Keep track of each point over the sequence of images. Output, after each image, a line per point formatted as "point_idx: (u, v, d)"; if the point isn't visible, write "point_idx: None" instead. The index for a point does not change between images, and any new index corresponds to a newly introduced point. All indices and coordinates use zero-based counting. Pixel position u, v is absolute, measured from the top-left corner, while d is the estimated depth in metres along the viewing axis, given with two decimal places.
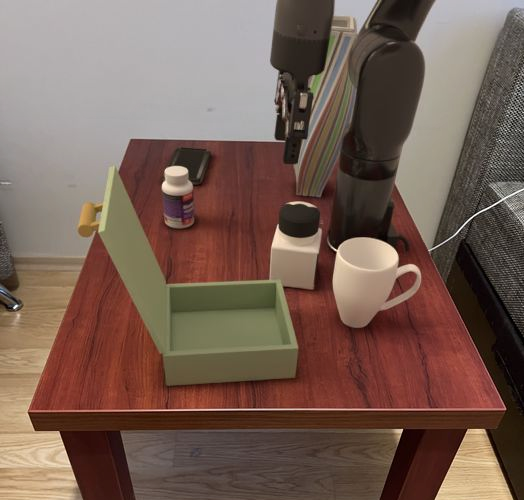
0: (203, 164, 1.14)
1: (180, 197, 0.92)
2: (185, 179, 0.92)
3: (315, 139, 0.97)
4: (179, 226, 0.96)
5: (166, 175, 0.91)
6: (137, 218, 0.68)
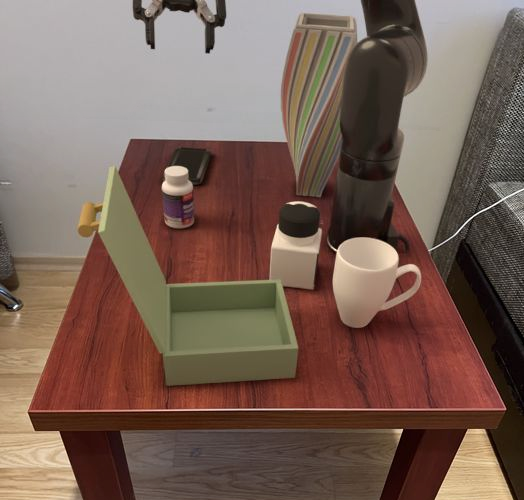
0: (203, 164, 1.14)
1: (180, 197, 0.92)
2: (185, 179, 0.92)
3: (315, 139, 0.97)
4: (179, 226, 0.96)
5: (166, 175, 0.91)
6: (137, 218, 0.68)
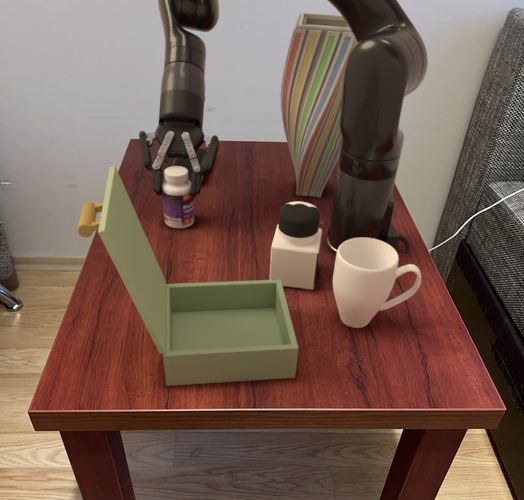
0: None
1: (180, 197, 0.92)
2: (185, 179, 0.92)
3: (315, 139, 0.97)
4: (179, 226, 0.96)
5: (166, 175, 0.91)
6: (137, 218, 0.68)
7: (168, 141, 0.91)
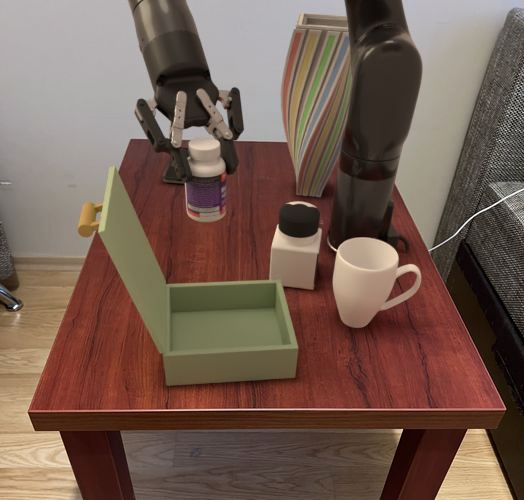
0: None
1: (218, 177, 0.69)
2: (219, 151, 0.68)
3: (315, 139, 0.97)
4: (216, 217, 0.72)
5: (197, 151, 0.66)
6: (137, 218, 0.68)
7: (182, 105, 0.66)
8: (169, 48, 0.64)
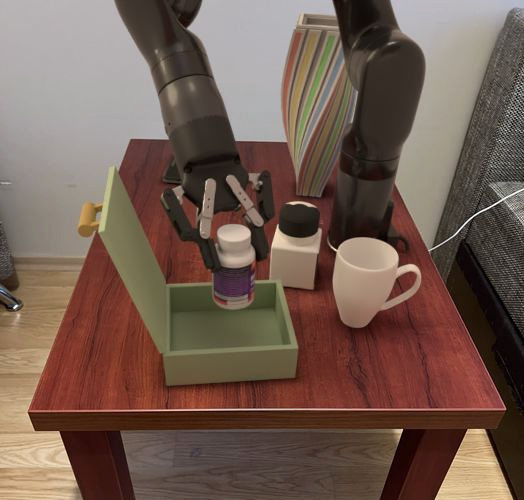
0: None
1: (248, 266, 0.64)
2: (250, 240, 0.64)
3: (315, 139, 0.97)
4: (244, 305, 0.68)
5: (227, 242, 0.62)
6: (137, 218, 0.68)
7: (211, 193, 0.62)
8: (198, 135, 0.60)
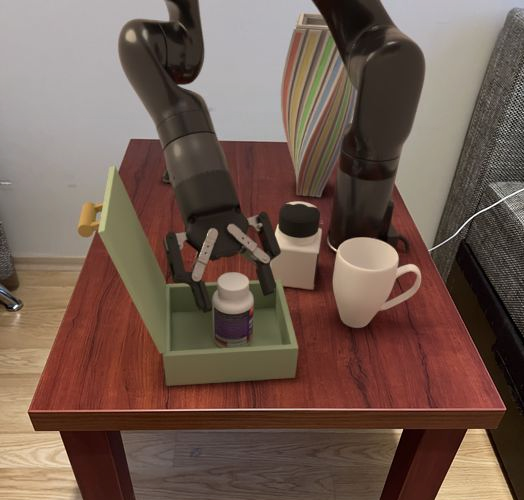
0: None
1: (247, 312, 0.69)
2: (248, 288, 0.69)
3: (315, 139, 0.97)
4: (243, 346, 0.73)
5: (226, 291, 0.67)
6: (137, 218, 0.68)
7: (211, 242, 0.66)
8: (201, 189, 0.65)
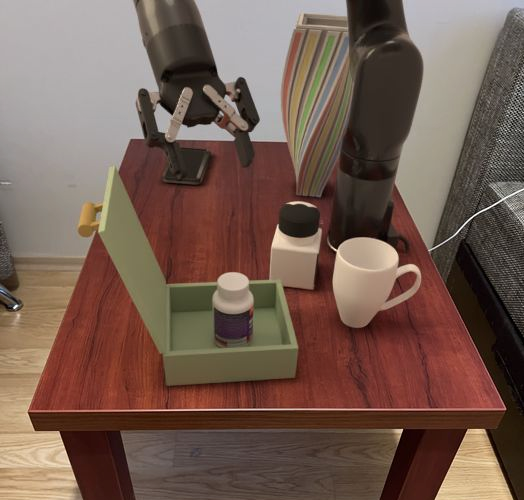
0: (203, 164, 1.14)
1: (247, 312, 0.69)
2: (248, 288, 0.69)
3: (315, 139, 0.97)
4: (243, 346, 0.73)
5: (226, 291, 0.67)
6: (137, 218, 0.68)
7: (185, 102, 0.63)
8: (174, 42, 0.61)
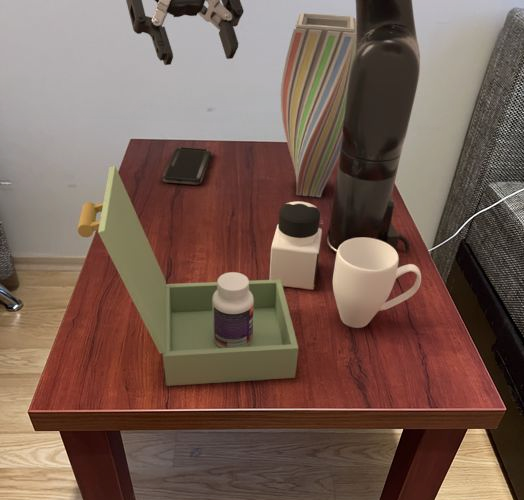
0: (203, 164, 1.14)
1: (247, 312, 0.69)
2: (248, 288, 0.69)
3: (315, 139, 0.97)
4: (243, 346, 0.73)
5: (226, 291, 0.67)
6: (137, 218, 0.68)
7: None
8: None
